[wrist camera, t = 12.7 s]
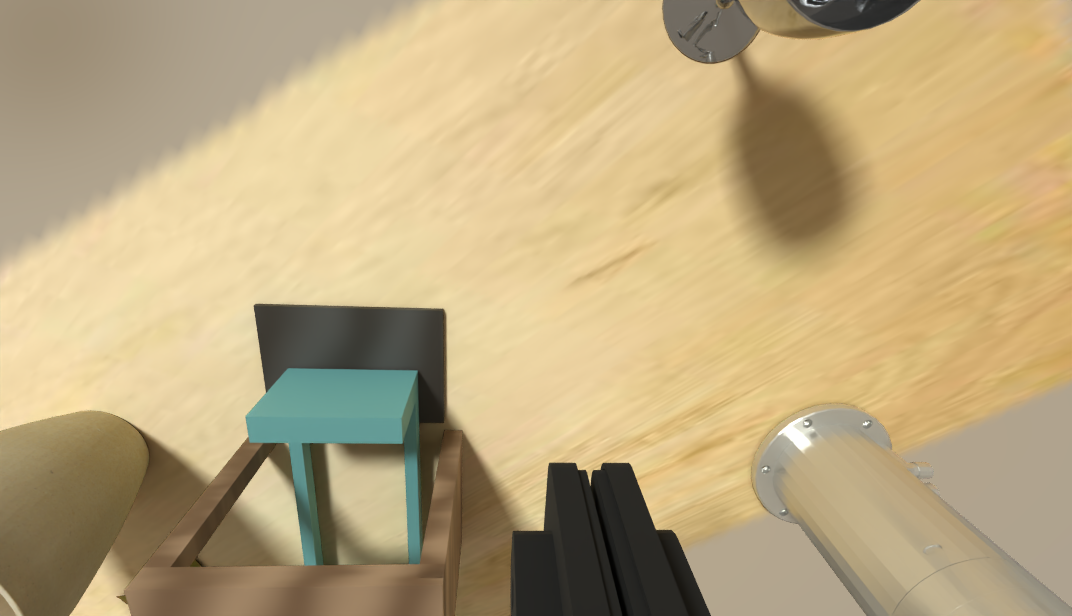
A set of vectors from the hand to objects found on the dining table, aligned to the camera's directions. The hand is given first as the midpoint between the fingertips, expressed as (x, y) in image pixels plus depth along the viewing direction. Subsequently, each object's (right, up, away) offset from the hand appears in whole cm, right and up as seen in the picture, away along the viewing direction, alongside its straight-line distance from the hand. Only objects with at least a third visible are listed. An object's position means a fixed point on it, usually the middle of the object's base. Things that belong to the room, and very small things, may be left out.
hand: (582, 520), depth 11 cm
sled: (-16, -15, +35) cm, 41 cm away
